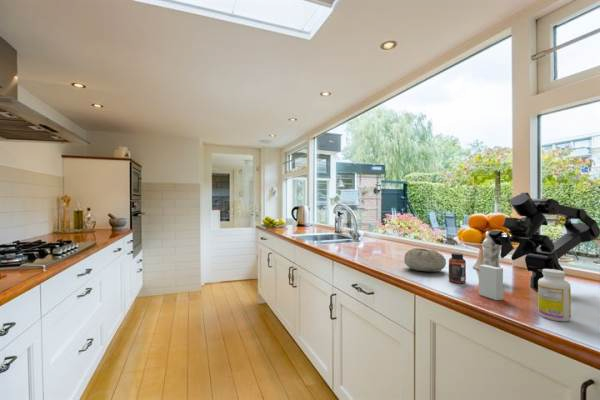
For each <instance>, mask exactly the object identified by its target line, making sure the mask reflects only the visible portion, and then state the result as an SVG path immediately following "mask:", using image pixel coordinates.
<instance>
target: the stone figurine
mask: <svg viewBox="0 0 600 400" xmlns="http://www.w3.org/2000/svg"><path fill="white" fill-rule="evenodd" d="M490 232H491V230H490V231H486V232H485V236H486V237H485V238H484V239H483V241H482V243H481V247H482V254H483V256H482V257H483V263H482V265H489V266H494V267H498V268H501V267H500V255H501V247H502V246H501V245H497V244H495V243H494V241H493V240H492V239H491V238H490V236H489V235H488V234H489V233H490Z"/></svg>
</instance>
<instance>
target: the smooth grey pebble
mask: <svg viewBox="0 0 600 400" xmlns="http://www.w3.org/2000/svg"><path fill="white" fill-rule="evenodd" d="M403 261H404V264H405V266H407V267H408V268H410V269H411V270H414V271H417V272H418V271H419V272H438V271H442V270H444V268H446V264H447V262H446V258H445V256H444V255H443V254H442V253H440V252H438V251H436V250H433V249H432V250H431V249H427V248H421V247H415V248H414V247H413V248H411V249H409V250H407V252H406V253H404V259H403Z"/></svg>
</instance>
